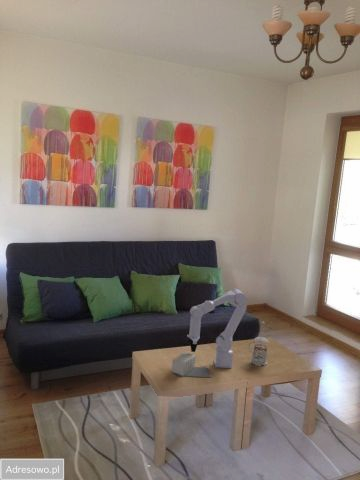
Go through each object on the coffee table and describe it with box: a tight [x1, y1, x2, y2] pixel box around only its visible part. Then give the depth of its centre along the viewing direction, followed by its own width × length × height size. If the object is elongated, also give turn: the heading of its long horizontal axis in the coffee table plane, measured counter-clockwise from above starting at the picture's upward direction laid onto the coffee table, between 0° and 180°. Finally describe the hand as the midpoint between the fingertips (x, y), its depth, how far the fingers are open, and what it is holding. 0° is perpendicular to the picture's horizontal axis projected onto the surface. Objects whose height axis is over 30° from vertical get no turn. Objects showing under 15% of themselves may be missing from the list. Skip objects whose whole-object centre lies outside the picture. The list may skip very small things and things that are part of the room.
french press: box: [248, 321, 269, 367], centre depth 244 cm, size 10×12×25 cm
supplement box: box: [171, 351, 196, 377], centre depth 228 cm, size 7×7×13 cm
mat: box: [175, 366, 211, 379], centre depth 227 cm, size 18×11×1 cm, turn 92°
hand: (193, 351), depth 234 cm, fingers closed
